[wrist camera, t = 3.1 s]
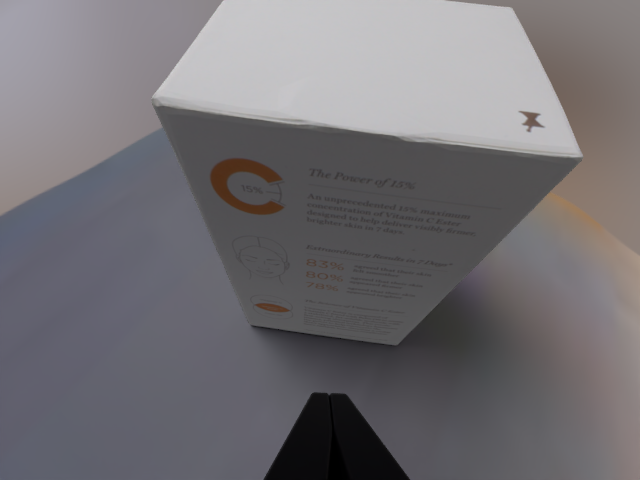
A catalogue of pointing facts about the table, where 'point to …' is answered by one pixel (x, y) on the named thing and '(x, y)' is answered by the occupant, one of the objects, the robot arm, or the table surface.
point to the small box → (361, 153)
